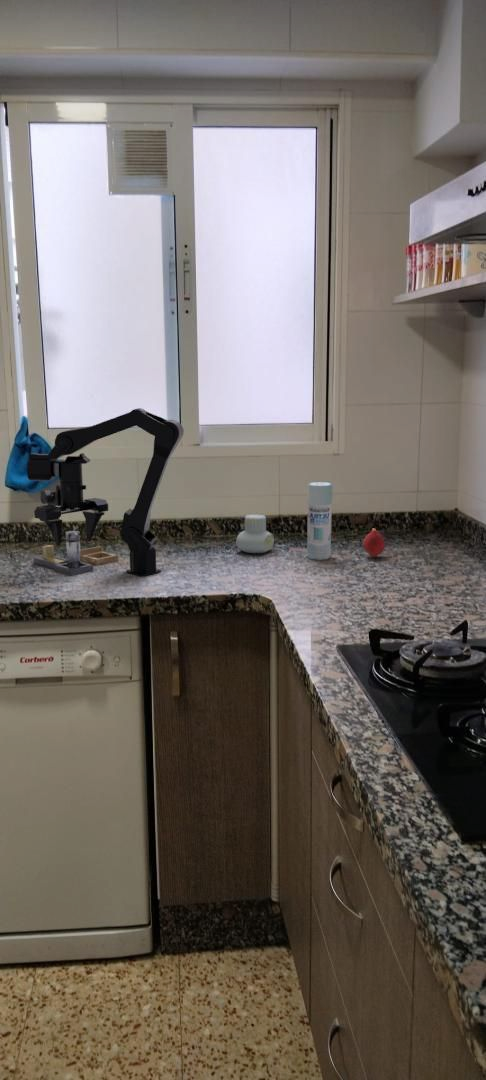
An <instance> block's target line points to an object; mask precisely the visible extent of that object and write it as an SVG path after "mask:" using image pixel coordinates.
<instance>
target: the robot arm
mask: <svg viewBox="0 0 486 1080" xmlns="http://www.w3.org/2000/svg"><path fill="white" fill-rule="evenodd" d="M133 427H137V428H140V429H141V430H143V431H145V432H146V433H148V434H150V435H152V436H153V437H154V438H153V439H154V440H153V451H152V452H153V454H152V457H151V459H150V463H149V466H148V468H147V471H146V475H145V477H144V480H143V482H142V486H141V488H140V491H139V494H138V497H137V499H136V503H135V506H134V507H133V508H132V509H131V508H129V509H128V510H126V511H125V512H124V514H123V516H122V517H123V518H122V522H121V524H120V525H119V527H118V528H119V529H120V531H119V533H120V537H121V539H122V541H123V543H126V544H127V547H128V549H129V567H130V568H129V569H125V573H128V574H131V575H135V576H139V577H145V576H148V575H149V576H150V575H153V574H159V573H161V572H162V570H161V569H159V568H157V549H156V548H155V545H156V544H157V540H158V537H157V536H156V535H155V533H154V532H152V531H151V530H150V523H151V510H152V507H153V505H154V501H155V499H156V496H157V494H158V490H159V487H160V485H161V482H162V479H163V476H164V474H165V471H166V468H167V465H168V463H169V460H170V458H171V456H172V455H173V453H174V451H175V450H176V448H177V447H178V445H179V443H180V442H181V440H182V438H183V436H184V427H183V425H182V423H180V422H179V421H177V420H175V419H166V418H163V417H161V416H159V415H156V414H153V413H151V412H149V411H146V410H145V409H144V408H135V409H134V408H133V409H132V410H131V411H129V412H126V413H124V414H121V415H118V416H115V417H113V418H110V419H107V420H104V421H102V422H99V423H97V424H93V425H90V426H85V427H78V428H71V429H68V430H64V431H61V432H59V433H58V434H57V435H56V437H55V439H54V445H53V447H52V448H51V450H50V451H49V453H38V452H32V453H29V455H28V456H29V457H28V458H29V459H28V462H27V466H26V475H27V478H28V480H29V481H30V482H31V481H32V482H36V481H38V482H53V481H54V480H55V478H57V477H58V482H59V483H58V484H56V486H55V491H51V490H50V489H45V490H41V491H40V497H39V498H40V501H41V504H42V505H40V506H36V508H35V509H34V518H35V519H39V520H40V522H44V523H45V524H46V526H47V527H48V530H49V532H50V533H51V535H52V537H53V540H54V543H55V545H56V546H58V547H59V546H60V547H61V542H62V528H63V519H60V518H61V517H62V515H65V514H71V513H78V512H82V514H83V517H84V519H85V520H84V521H85V536H86V540H88V541H91V539H92V537H93V535H94V532H95V531H96V527H97V525H98V524H99V522H100V520H101V518H102V516H104V515H105V513H106V512H108V511H109V503H108V501H107V500H106V499H103V498H96V497H92V498H91V497H90V498H86V499H84V490H87V485H86V484H84V480H83V464H85V465H86V464H88V463H90V462H91V459H90V458H89V457H87V456H86V455H85V453H84V452H81V453H80V454H79V455H72V454H75V453H77V452H80V451H81V450H82V449H85V448H86V447H87V446H90V445H91V444H93V443H94V442H95V441H98V440H100V439H103V438H106V437H109V436H111V435H113V434H117V433H120V432H122V431H125V430H129V429H130V428H131V429H132V428H133ZM65 456H66V458H65V459H60V458H61V457H65Z"/></svg>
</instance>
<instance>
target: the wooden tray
mask: <svg viewBox="0 0 486 1080" xmlns="http://www.w3.org/2000/svg"><path fill="white" fill-rule="evenodd" d="M102 548H103V547H102V546H100V545H98V546H97V545H96V546H93V547H89V548H88V547H87V548H83V549H80V554H81V562H84V563H88V564H91V565H93V566H99V565H100V566H101V565H104V564H105V565H106V564H109V563H114V562H119V555H118V554H115V553H110V552H106V551H103V550H102Z"/></svg>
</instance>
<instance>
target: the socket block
mask: <svg viewBox="0 0 486 1080" xmlns="http://www.w3.org/2000/svg"><path fill="white" fill-rule="evenodd" d="M54 558H56V559H60V560H63V561H66V563H63V564H60V563H57V562H53V561H49V560H46V559H43V557H42V558H41V557H38V556H34V557H33V564H35V565H38V566H43V567H46V568H50V569H53V570H55V571H56V572H58V573H62V574H64V575H68V576H76V575H80V574H84V573H89V572H93V571H94V564H90V563H86V562H83V561H81V566H80V567H76V568H69V567H67V558H63V557H61V556H58V555H57V556H56V555H54Z"/></svg>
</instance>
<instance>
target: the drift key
mask: <svg viewBox="0 0 486 1080" xmlns="http://www.w3.org/2000/svg"><path fill="white" fill-rule="evenodd" d="M54 556H55V545H53V544H47V545H43V546H42V559H46V560H49V561H53V562H57V563H60V564H63V563H66V561H63V560H60V559H56V558H54Z"/></svg>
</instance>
